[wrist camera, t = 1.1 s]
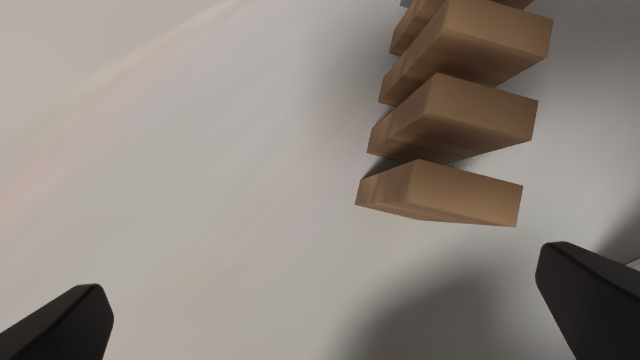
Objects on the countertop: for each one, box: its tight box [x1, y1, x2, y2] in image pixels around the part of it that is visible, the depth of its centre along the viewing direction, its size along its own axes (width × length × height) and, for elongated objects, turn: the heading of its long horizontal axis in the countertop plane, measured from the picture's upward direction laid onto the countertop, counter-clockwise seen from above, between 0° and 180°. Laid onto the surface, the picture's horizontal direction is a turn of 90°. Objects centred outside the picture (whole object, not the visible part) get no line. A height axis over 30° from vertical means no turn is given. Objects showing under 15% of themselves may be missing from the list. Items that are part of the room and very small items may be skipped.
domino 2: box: [367, 73, 538, 165], centre depth 19 cm, size 2×4×10 cm, turn 76°
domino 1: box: [355, 159, 523, 227], centre depth 19 cm, size 2×4×10 cm, turn 77°
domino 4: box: [389, 0, 534, 56], centre depth 20 cm, size 2×4×10 cm, turn 77°
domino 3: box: [378, 0, 553, 107], centre depth 20 cm, size 2×4×10 cm, turn 76°
